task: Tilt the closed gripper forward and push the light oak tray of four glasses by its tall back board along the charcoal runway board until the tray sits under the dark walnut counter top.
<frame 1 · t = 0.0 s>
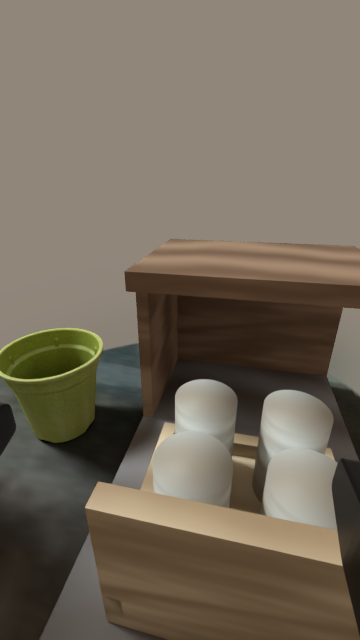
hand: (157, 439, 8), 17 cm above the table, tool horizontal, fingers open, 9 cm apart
counter: (241, 411, 33), on the table
tray: (238, 531, 20), point 2 cm above the table, touching counter
plant pot: (65, 423, 32), on the table
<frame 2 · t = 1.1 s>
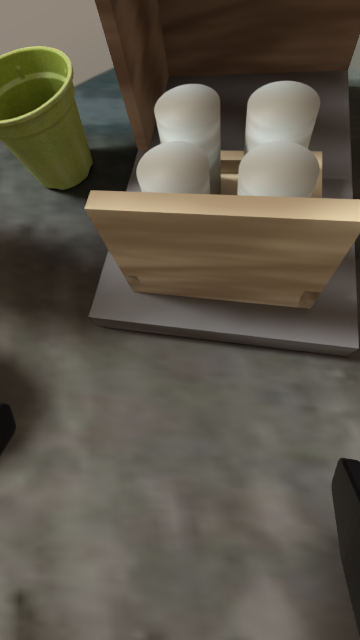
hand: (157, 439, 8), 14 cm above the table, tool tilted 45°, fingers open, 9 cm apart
counter: (241, 132, 31), on the table
tray: (226, 232, 24), point 2 cm above the table, touching counter
plant pot: (67, 171, 33), on the table
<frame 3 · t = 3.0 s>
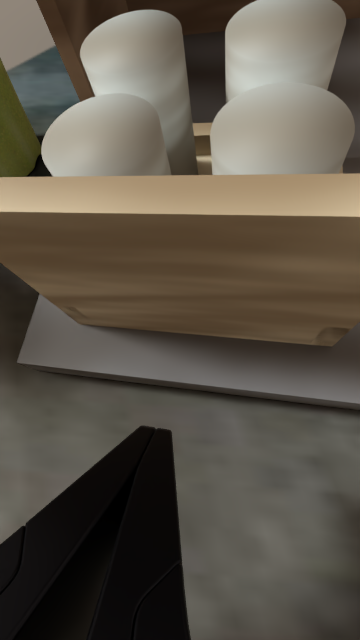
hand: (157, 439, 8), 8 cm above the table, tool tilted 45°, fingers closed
counter: (228, 106, 24), on the table
tray: (208, 236, 18), point 2 cm above the table, touching counter
plant pot: (10, 164, 26), on the table
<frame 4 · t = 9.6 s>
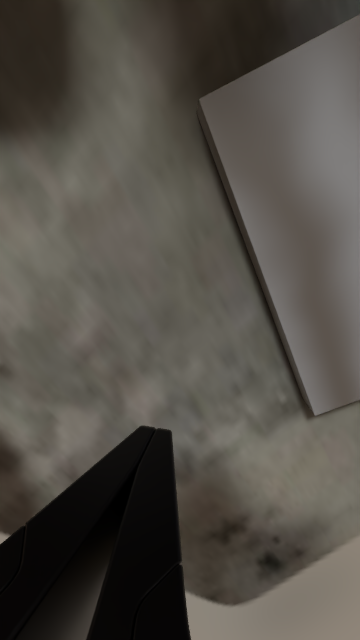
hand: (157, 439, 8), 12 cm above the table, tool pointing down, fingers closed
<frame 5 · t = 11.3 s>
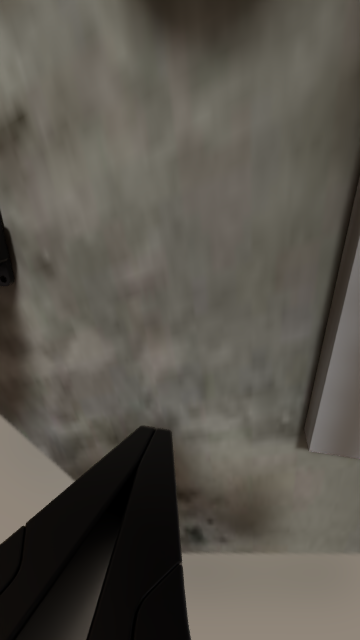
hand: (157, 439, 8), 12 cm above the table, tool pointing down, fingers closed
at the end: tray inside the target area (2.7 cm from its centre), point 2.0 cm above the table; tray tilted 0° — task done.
